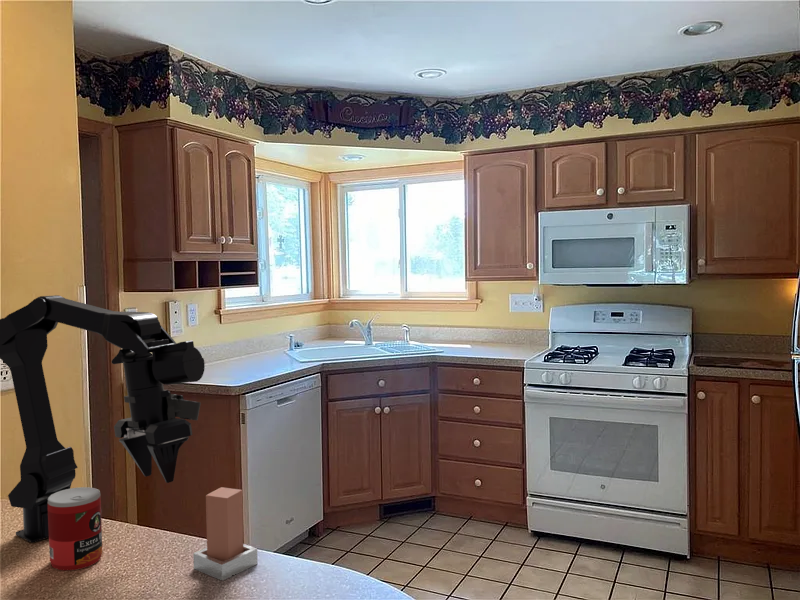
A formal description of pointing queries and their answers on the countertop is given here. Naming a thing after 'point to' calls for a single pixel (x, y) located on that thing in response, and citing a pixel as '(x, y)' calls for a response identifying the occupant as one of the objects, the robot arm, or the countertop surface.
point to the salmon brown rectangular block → (224, 523)
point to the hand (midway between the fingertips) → (158, 478)
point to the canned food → (75, 528)
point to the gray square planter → (225, 563)
